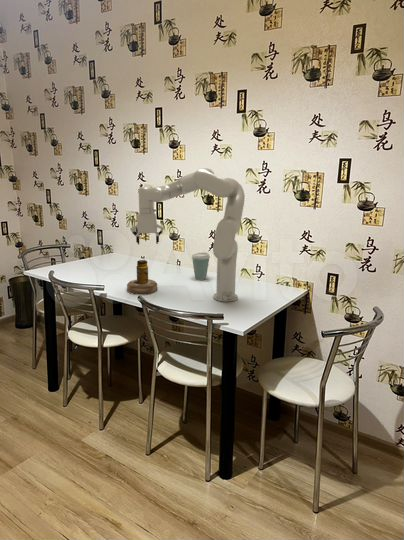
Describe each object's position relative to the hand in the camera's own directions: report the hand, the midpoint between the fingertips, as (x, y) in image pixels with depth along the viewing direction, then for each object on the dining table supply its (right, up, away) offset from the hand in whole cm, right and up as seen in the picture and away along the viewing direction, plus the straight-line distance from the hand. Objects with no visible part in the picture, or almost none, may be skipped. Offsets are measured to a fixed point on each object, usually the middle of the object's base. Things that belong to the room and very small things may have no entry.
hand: (147, 243), depth 225 cm
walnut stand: (-4, -24, +5) cm, 25 cm away
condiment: (-4, -21, +4) cm, 22 cm away
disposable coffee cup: (+27, -19, +28) cm, 44 cm away
